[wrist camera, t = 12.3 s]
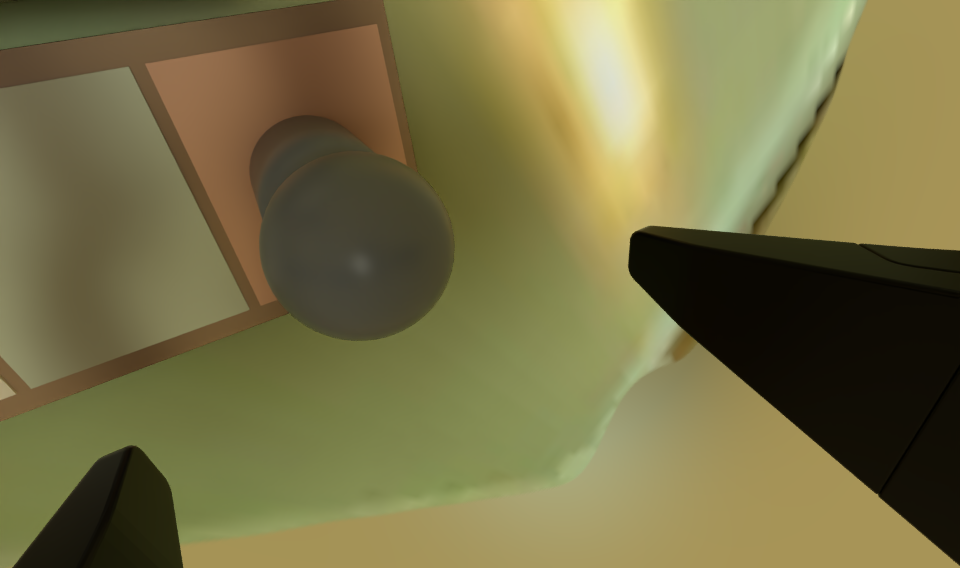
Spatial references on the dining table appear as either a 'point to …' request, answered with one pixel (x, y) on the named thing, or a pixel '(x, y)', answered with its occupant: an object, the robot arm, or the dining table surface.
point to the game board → (161, 181)
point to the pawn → (347, 231)
